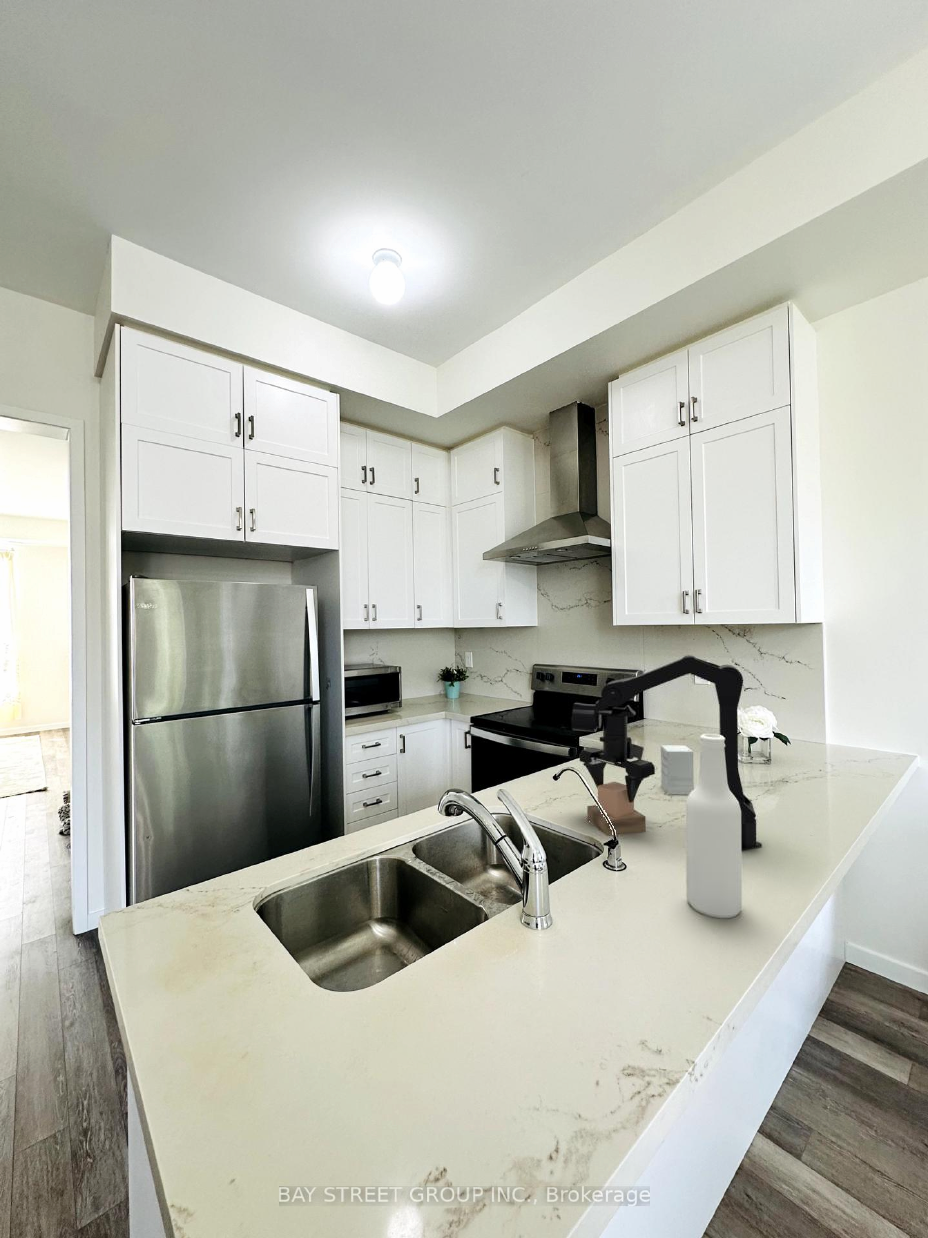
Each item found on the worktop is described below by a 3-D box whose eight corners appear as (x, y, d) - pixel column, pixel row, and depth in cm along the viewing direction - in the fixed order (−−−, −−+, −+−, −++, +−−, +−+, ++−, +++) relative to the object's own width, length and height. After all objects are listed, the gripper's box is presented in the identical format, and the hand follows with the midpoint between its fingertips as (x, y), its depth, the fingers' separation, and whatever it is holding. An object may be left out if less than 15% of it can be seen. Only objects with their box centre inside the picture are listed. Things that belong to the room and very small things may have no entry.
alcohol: (739, 926, 87) (738, 744, 87) (682, 911, 92) (681, 738, 92) (743, 901, 95) (742, 733, 95) (690, 888, 99) (689, 728, 99)
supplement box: (686, 787, 158) (685, 745, 158) (694, 795, 151) (694, 751, 151) (660, 786, 159) (660, 744, 159) (667, 795, 152) (667, 750, 152)
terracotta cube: (634, 812, 129) (633, 787, 129) (617, 817, 125) (617, 792, 125) (614, 805, 134) (614, 781, 134) (598, 810, 130) (597, 785, 130)
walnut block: (645, 833, 126) (645, 816, 126) (607, 837, 123) (607, 820, 123) (623, 818, 136) (622, 802, 136) (587, 822, 133) (587, 806, 133)
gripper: (668, 735, 126) (669, 801, 126) (606, 723, 142) (607, 781, 142) (639, 742, 120) (639, 811, 120) (577, 728, 135) (578, 789, 135)
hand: (615, 797), depth 129 cm, fingers open, 9 cm apart
